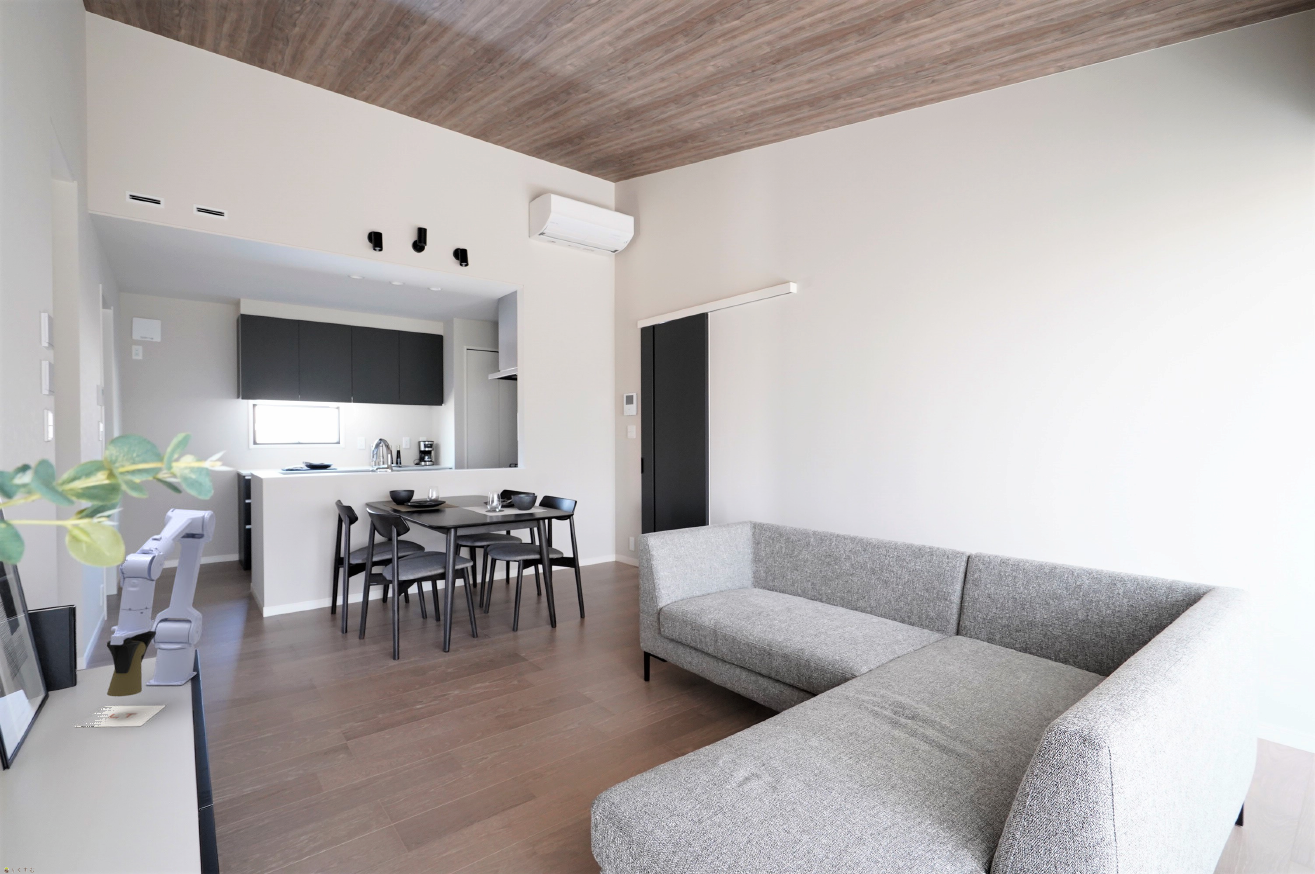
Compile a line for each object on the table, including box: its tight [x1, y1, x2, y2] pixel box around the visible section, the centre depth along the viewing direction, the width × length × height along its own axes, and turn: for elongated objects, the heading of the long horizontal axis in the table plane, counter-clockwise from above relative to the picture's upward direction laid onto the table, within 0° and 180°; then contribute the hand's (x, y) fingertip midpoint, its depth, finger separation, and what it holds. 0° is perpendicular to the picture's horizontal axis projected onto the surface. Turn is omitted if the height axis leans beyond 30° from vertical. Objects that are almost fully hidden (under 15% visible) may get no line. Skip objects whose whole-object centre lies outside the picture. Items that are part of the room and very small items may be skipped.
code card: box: [74, 705, 166, 728], centre depth 146 cm, size 12×12×1 cm
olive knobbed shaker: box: [106, 641, 146, 697], centre depth 146 cm, size 6×6×11 cm
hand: (128, 668), depth 147 cm, fingers closed on olive knobbed shaker, 5 cm apart
